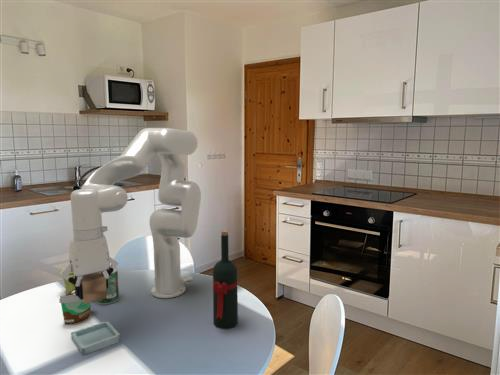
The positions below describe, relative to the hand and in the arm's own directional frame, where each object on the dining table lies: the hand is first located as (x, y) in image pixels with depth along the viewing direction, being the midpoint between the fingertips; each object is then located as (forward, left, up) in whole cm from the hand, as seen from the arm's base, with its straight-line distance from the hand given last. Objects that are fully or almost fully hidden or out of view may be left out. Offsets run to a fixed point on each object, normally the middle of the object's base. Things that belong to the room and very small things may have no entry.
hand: (92, 293), depth 109 cm
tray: (0, 0, -14) cm, 14 cm away
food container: (-1, -16, -15) cm, 22 cm away
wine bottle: (-34, +17, -15) cm, 41 cm away
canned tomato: (-12, -24, -15) cm, 31 cm away
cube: (0, 0, -1) cm, 1 cm away
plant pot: (-5, -37, -15) cm, 40 cm away
